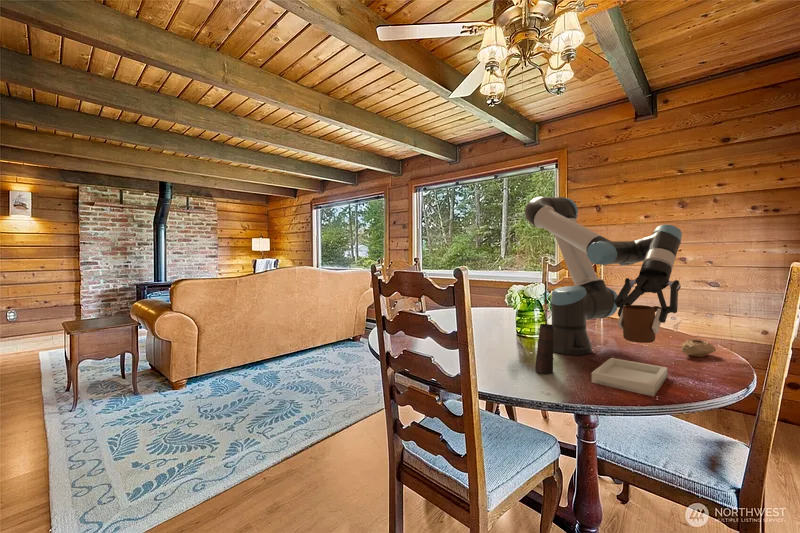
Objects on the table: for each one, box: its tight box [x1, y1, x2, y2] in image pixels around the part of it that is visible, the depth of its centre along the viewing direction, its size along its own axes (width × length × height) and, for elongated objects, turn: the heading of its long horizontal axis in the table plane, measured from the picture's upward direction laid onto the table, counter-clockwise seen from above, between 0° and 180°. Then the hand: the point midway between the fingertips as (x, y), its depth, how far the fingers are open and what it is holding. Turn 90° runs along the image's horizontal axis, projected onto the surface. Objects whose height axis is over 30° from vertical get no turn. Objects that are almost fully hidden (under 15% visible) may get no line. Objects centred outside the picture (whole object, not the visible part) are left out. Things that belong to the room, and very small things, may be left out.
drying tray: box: [591, 357, 668, 397], centre depth 99 cm, size 14×18×3 cm
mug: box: [622, 304, 662, 344], centre depth 99 cm, size 12×8×9 cm, turn 102°
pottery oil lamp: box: [680, 338, 717, 358], centre depth 120 cm, size 9×12×7 cm
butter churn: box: [534, 280, 554, 375], centre depth 106 cm, size 9×10×28 cm
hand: (636, 328), depth 98 cm, fingers closed on mug, 8 cm apart
